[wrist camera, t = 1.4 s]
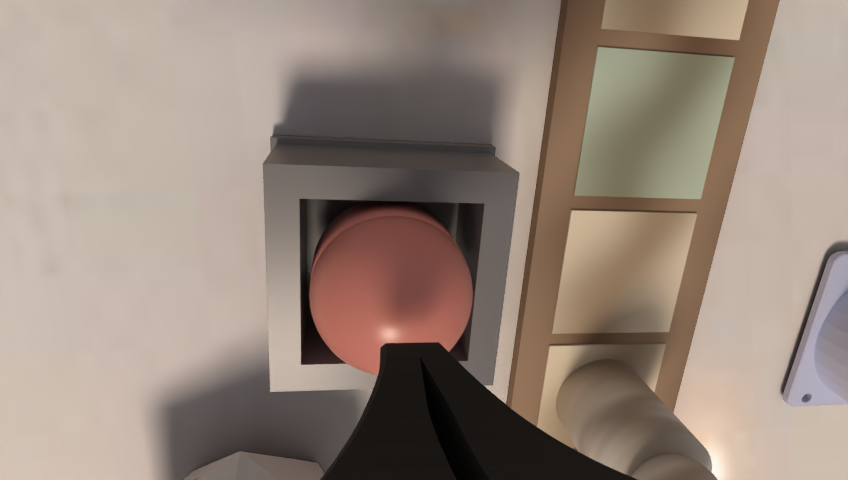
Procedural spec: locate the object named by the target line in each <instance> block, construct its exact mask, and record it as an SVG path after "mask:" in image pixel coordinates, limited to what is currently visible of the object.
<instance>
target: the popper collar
mask: <svg viewBox="0 0 848 480" xmlns="http://www.w3.org/2000/svg"><path fill="white" fill-rule="evenodd" d="M270 141H271V153H270V154H269V156H268V157H267V159H266V160H265V161H264V163H263V179H264V211H265V243H266V275H267V307H268V339H269V371H270V392H283V391H316V390H349V389H373V388H374V385H375V382H376V379H377V376H378V375H374V374H370V373H366V372H363V371H361V370H358V369H356V368H354V367H352V366H351V365H349V364H347V363H345V362H344V361H343V360H341V359H340V358H339V357H337V356H336V355H335V354H334V353H333V352H332V351H331V350H330V348H329V347H328V346H327V345H326V343H325V342H324V341H323V339H322V338H321V336H320V334H319V332H318V331H317V328H316V326H315V323H314V320H313V318H312V313H311V309H310V299H309V290H310V279H311V271H312V263H313V257H314V252H315V249H316V246H317V243H318V241H319V239H320V237H321V235H322V233H323V232H324V231H325V229H326V228H327V226H328V225H329V224H330V223H331V222H332V221H333V220H334V219H335V218H336V217H337V216H339V215H340V214H341V213H342V212H344V211H345V210H347V209H349V208H350V207H352V206H355V205H357V204H359V203H362V202H365V201H406V202H413V203H416V204H418V205H420V206H422V207H424V208H426V209H428V210H429V211H430V212H432V213H433V214H435V215H436V216H437V217H438V218H439V219H440V220H441V221H442V222H443V224H444V225H445V226H446V227H447V229H448V231H449V232H450V234H451V236H452V237H453V239H454V241H455V242H456V244H457V246H458V247H459V249H460V251H461V252H462V254H463V256H464V258H465V260H466V263H467V265H468V268H469V271H470V275H471V279H472V289H473V301H472V307H471V313H470V317H469V320H468V323H467V325H466V327H465V330H464V332H463V334H462V335H461V337H460V338H459V340H458V341H457V343H456V344H455V345H454V347H453V348H452V349H451V350H450V351H449V353H450V354H451V355H452V356H453V357H454V358H455V359H456V360H457V361H458V362H459V363H460V364H461V365H462V366H463V367H464V368H465V369H466V370H467V371H468V372H469V373H470V374H471V375H473V376H474V377H475V378H476V379H477V380H478V381H479V382H480V383H481V384H482V385H493V380H494V372H495V364H496V356H497V348H498V341H499V333H500V325H501V317H502V309H503V301H504V293H505V285H506V277H507V269H508V261H509V253H510V245H511V237H512V229H513V221H514V213H515V205H516V197H517V189H518V181H519V172H518V171H516V170H515V169H513V168H512V167H510V166H509V165H507V164H506V163H504V162H503V161H501V160H500V159H498V158H497V157H495V148H496V147H494V146H493V145H486V144H463V143H441V142H418V141H396V140H373V139H350V138H328V137H305V136H283V135H272V136H271V138H270Z"/></svg>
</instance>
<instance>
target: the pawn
mask: <svg viewBox="0 0 848 480" xmlns="http://www.w3.org/2000/svg"><path fill="white" fill-rule="evenodd" d="M556 412H557V415H558V418H559V420H560V421H561V423H562V425H563V426H564V428H565V430H566V431H567V433H568V435H569V437H570V438H571V440H572V442H573V443H574V445H575V447H576V448H577V450H578V452H580V453H582V454H584V455H586V456H587V457H589V458H591V459H593V460H595V461H597V462H600V463H602V464H604V465H606V466H608V467H610V468H612V469H614V470H617V471H619V472H621V473H624V474H626V475H628V476H631V477H633V478H635V479H638V480H717V478H716V477H715V476H714V475H713V474H712V473H711V471H712V463H711V458H710V455H709V453H708V451H707V450H706V449H705V447H704V446H703V445H702V444H701V443H700V442H699V441H698V440H697V439H696V438H695V436H694V435H693V434H692V433H691V432H690V431H689V430H688V429H687V428H686V427H685V426H684V424H683V423H682V422H681V421H680V420H679V419H678V418H677V417H676V416H675V415H674V414H673V413H672V411H671V410H670V409H669V408H668V407H667V406H666V405H665V404H664V403H663V402H662V401H661V399H660V398H659V397H658V396H657V395H656V394H655V393H654V392H653V391H652V390H651V389H650V387H649V386H648V385H647V384H646V383H645V382H644V381H643V380H642V379H641V378H640V377H639V376H638V374H637V373H636V372H635V371H634V370H633V369H632V368H631V367H630V366H628V365H627V364H625V363H623V362H620V361H617V360H612V359H603V360H597V361H593V362H590V363H587V364H585V365H583V366H581V367H580V368H578V369H577V370H575V371H574V372H573V373H572V374H570V375H569V376H568V378H567V379H566V380H565V381H564V383H563V384H562V386H561V387H560V389H559V392H558V394H557V398H556Z"/></svg>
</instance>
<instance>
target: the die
mask: <svg viewBox="0 0 848 480" xmlns="http://www.w3.org/2000/svg"><path fill="white" fill-rule="evenodd" d="M323 475H324V473H323V471H322V469H321V467H320V466H319V464H318V463H317V462H310V461H303V460H297V459H290V458H283V457H276V456H269V455H262V454H255V453H248V452H241V451H239V452H237V453H235V454H232V455H230V456H227V457H225V458H222V459H220V460H218V461H215V462H213V463H210V464H208V465H206V466H203V467H201V468H198V469H196V470H193V471H192V472H191V473H190V474H189V475H188V476H187V477H186V478H185V479H184V480H320V479H321V478H322V476H323Z"/></svg>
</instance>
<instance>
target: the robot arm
mask: <svg viewBox="0 0 848 480" xmlns="http://www.w3.org/2000/svg"><path fill="white" fill-rule="evenodd" d="M783 400H784V401H785V402H786V403H788V404H789V405H790V406H818V405H843V404H848V251H839V252H835V253H834V254H832V255H831V256H830V257H829V259H828V261H827V264H826V267H825V270H824V273H823V276H822V279H821V282H820V285H819V288H818V291H817V294H816V297H815V300H814V303H813V306H812V309H811V312H810V315H809V318H808V321H807V324H806V327H805V330H804V333H803V336H802V339H801V342H800V345H799V348H798V351H797V354H796V357H795V360H794V363H793V366H792V369H791V372H790V375H789V378H788V381H787V384H786V387H785V390H784V393H783ZM320 480H638V479H635V478H633V477H631V476H628V475H626V474H624V473H621V472H619V471H617V470H614V469H612V468H610V467H608V466H606V465H604V464H602V463H600V462H597V461H595V460H593V459H591V458H589V457H587V456H586V455H584V454H582V453H580V452H578V451H576V450H575V449H573V448H571V447H569V446H567V445H565V444H563V443H562V442H560V441H558V440H557V439H555V438H553V437H552V436H550V435H548V434H547V433H545V432H544V431H542V430H541V429H539V428H538V427H536V426H535V425H533V424H532V423H530V422H529V421H527V420H526V419H524V418H523V417H522V416H520V415H519V414H518V413H516V412H515V411H514V410H512V409H511V408H510V407H509V406H507V405H506V404H505V403H504V402H502V401H501V400H500V399H499V398H497V397H496V396H495V395H494V394H493V393H491V392H490V391H489V390H488V389H487V388H486V387H485V386H483V385H482V384H481V383H480V382H479V381H478V380H477V379H476V378H475V377H474V376H473V375H471V374H470V373H469V372H468V371H467V370H466V369H465V368H464V367H463V366H462V365H461V364H460V363H459V362H458V361H457V360H456V359H455V358H454V357H453V356H452V355H451V354H450V353H449V352H448V351H447V350H446V349H445V348H444V347H443V346H442V345H441V344H440V343H439V342H424V343H385V344H384V345H383V346H382V347H381V348H380V368H379V373H378V376H377V379H376V382H375V385H374V388H373V391H372V394H371V396H370V399H369V401H368V403H367V405H366V408H365V410H364V412H363V414H362V416H361V418H360V420H359V422H358V424H357V426H356V428H355V430H354V431H353V433H352V435H351V436H350V438H349V440H348V441H347V443H346V445H345V446H344V448H343V449H342V451H341V452H340V453H339V455H338V456H337V458H336V459H335V461H334V462H333V464H332V465H331V466H330V468H329V469H328V470H327V471H326V473H325V474H324V475H323V476H322V478H321V479H320Z"/></svg>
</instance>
